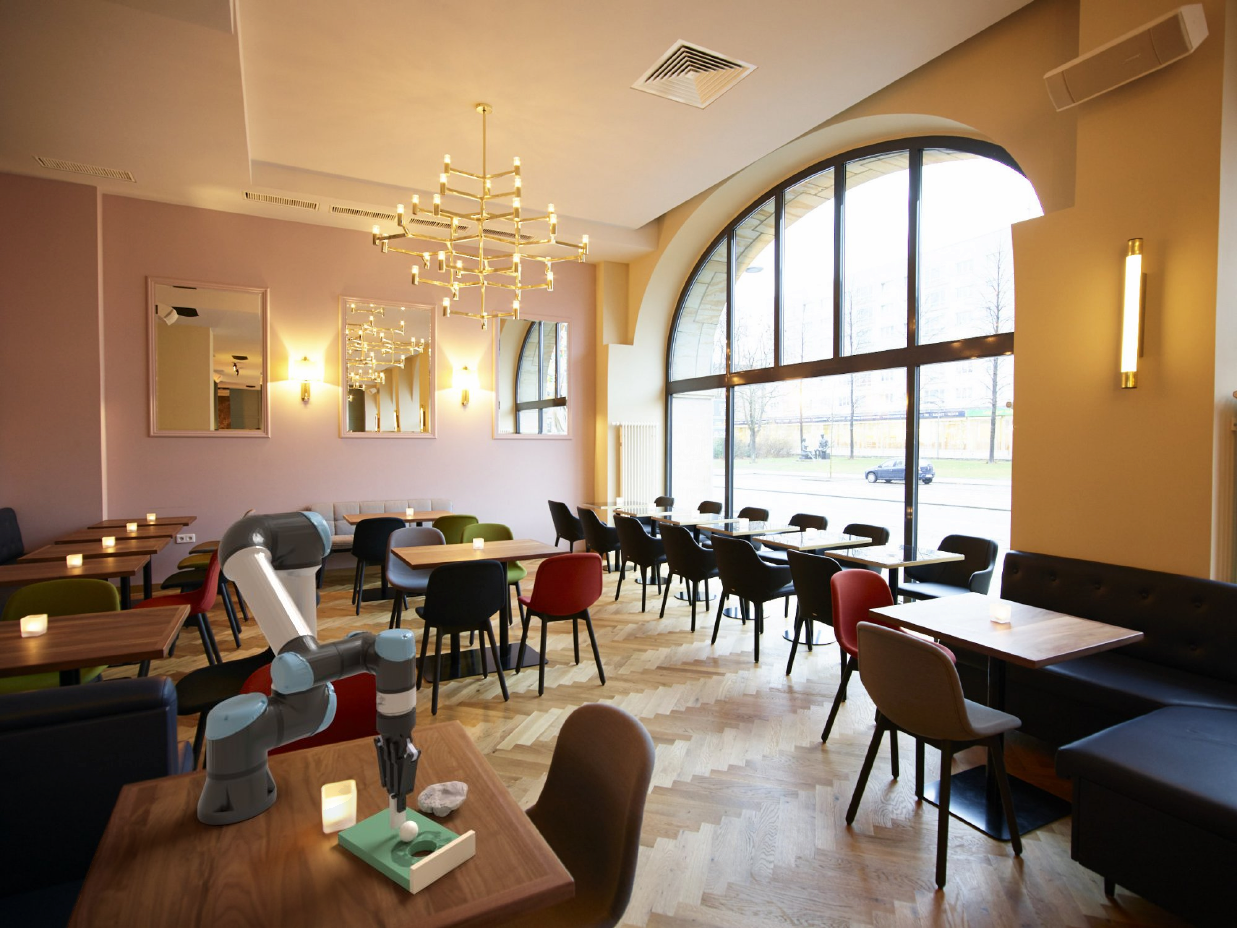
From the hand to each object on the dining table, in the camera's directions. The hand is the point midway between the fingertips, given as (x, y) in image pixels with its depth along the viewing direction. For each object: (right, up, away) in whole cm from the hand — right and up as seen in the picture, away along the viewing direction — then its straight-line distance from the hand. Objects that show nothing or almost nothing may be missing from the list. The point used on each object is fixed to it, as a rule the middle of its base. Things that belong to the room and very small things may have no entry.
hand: (397, 825), depth 126 cm
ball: (+3, 0, -2) cm, 4 cm away
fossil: (+6, -4, +13) cm, 15 cm away
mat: (+2, -4, -1) cm, 4 cm away
